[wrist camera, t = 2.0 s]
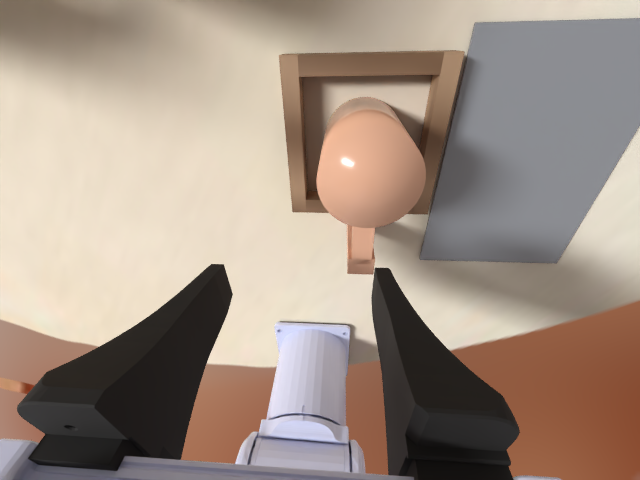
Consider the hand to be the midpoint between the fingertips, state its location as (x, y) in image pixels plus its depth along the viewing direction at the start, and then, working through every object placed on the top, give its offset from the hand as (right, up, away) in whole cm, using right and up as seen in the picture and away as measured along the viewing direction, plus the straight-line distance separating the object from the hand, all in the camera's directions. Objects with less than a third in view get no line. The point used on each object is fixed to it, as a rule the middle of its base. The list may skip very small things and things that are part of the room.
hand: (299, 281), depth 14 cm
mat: (+15, +7, +6) cm, 17 cm away
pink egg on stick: (+4, +7, +6) cm, 10 cm away
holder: (+4, +9, +5) cm, 11 cm away
